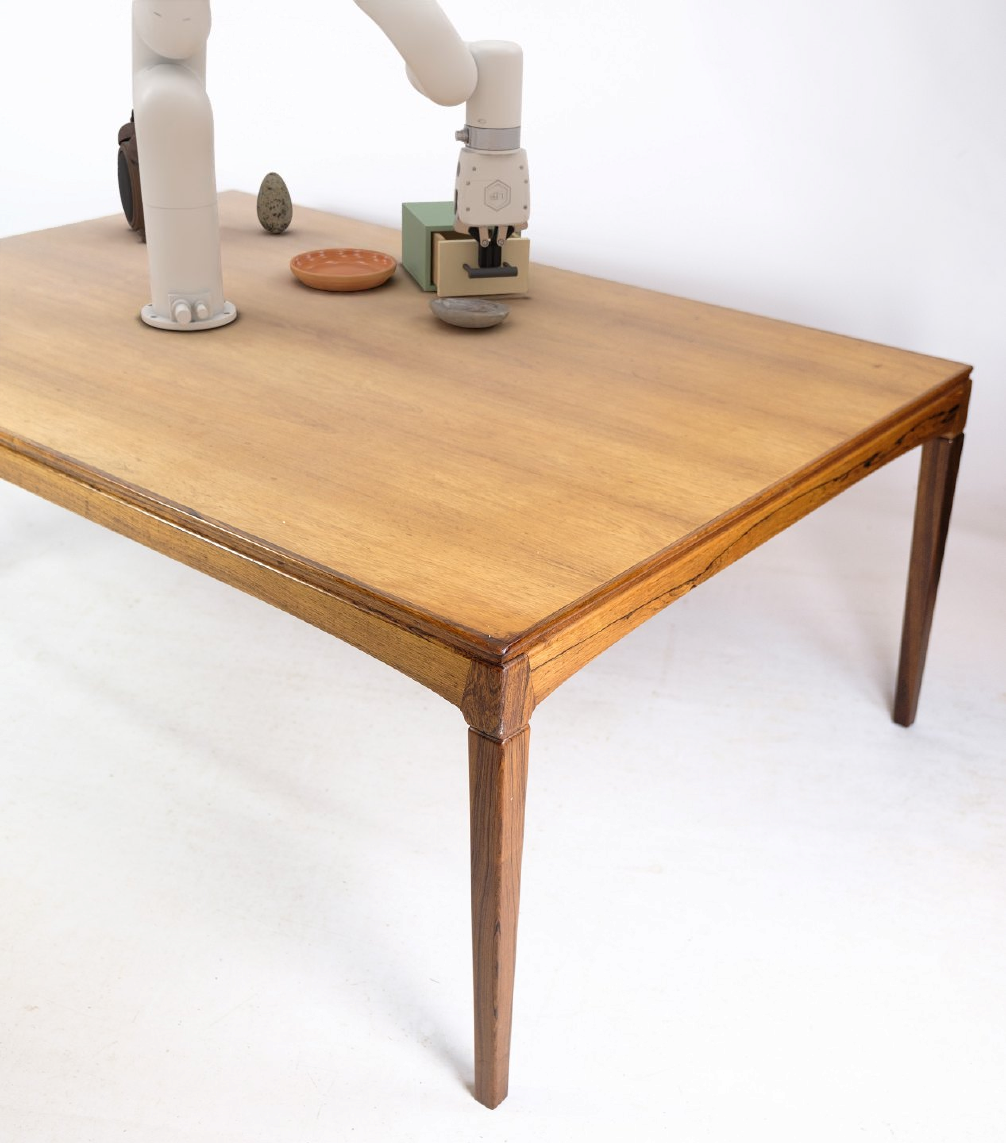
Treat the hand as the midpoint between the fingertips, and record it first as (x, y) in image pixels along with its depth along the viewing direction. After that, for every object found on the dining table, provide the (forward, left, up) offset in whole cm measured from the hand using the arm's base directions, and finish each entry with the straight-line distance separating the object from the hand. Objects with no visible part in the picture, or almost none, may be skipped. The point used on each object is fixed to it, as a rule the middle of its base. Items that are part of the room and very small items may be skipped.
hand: (489, 272), depth 184 cm
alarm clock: (+48, +45, -5) cm, 66 cm away
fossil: (-8, +5, -5) cm, 11 cm away
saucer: (+16, +18, -5) cm, 25 cm away
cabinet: (+16, 0, -5) cm, 17 cm away
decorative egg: (+47, +24, -5) cm, 53 cm away
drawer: (+7, 0, -4) cm, 8 cm away
